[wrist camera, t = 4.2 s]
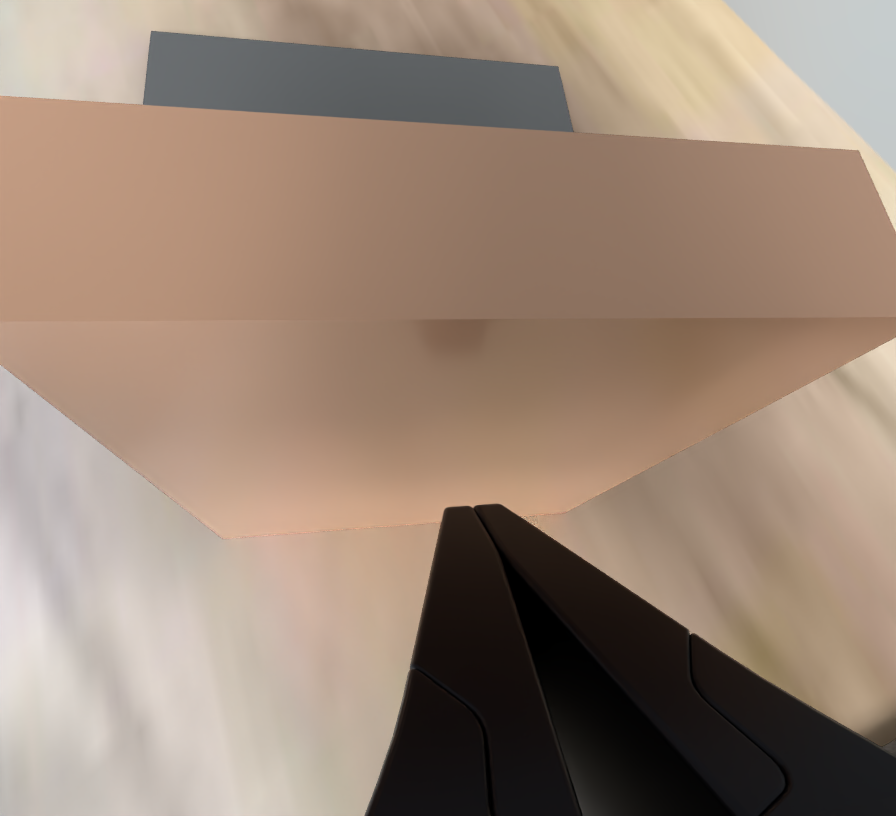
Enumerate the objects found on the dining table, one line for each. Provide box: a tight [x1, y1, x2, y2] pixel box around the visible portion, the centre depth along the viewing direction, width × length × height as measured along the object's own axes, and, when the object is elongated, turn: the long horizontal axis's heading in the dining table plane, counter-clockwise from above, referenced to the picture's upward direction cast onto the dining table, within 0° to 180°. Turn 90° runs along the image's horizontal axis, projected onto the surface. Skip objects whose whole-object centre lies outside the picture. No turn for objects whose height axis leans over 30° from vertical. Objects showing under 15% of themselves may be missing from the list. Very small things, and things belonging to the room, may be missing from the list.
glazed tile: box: [0, 96, 896, 539], centre depth 12 cm, size 3×10×12 cm, turn 96°
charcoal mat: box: [143, 31, 573, 132], centre depth 20 cm, size 15×16×1 cm
